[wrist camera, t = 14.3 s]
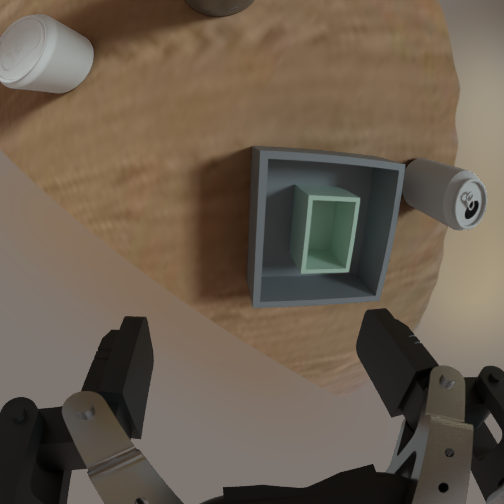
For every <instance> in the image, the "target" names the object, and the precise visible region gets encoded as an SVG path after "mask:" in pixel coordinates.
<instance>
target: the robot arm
mask: <svg viewBox="0 0 504 504" xmlns="http://www.w3.org/2000/svg"><path fill="white" fill-rule="evenodd" d="M185 1H186V2H187V3H188V5H189V6H190V7H191V8H193V9H194V10H196V11H198V12H200V13H202V14H206V15H210V16H227V15H232V14H235V13H238V12H240V11H242V10H244V9H246V8H247V7H248V6H249V5H250V4H252V3H253V1H254V0H185ZM356 350H357V355H358V357H359V359H360V361H361V363H362V364H363V366H364V368H365V370H366V371H367V373H368V375H369V377H370V379H371V380H372V382H373V384H374V386H375V388H376V390H377V391H378V393H379V395H380V397H381V399H382V401H383V402H384V404H385V406H386V408H387V410H388V412H389V414H390V416H391V417H395V416H399V415H402V414H403V415H404V416H405V419H404V421H403V422H402V425H401V429H400V433H399V437H398V440H397V444H396V447H395V451H394V454H393V457H392V460H391V463H390V465H389V467H388V469H387V470H386V472H376V471H375V468H374V465H373V464H371V465H367V466H364V467H360V468H357V469H352V470H348V471H344V472H340V473H338V474H336V475H334V476H331V477H329V478H327V479H325V480H323V481H321V482H318V483H316V484H314V485H311V486H309V487H305V488H293V487H280V486H268V485H255V486H240V487H223V493H224V495H223V496H220V497H215V498H213V499H210V500H207V501H205V502H203V503H200V504H466V498H467V492H468V486H469V478H470V470H471V471H472V473H473V475H474V478H475V479H476V482H477V484H478V486H479V488H480V490H481V492H482V494H483V497H484V499H485V501H486V504H504V372H503V371H502V370H501V369H500V368H498V367H495V366H486V367H484V368H483V369H482V370H481V372H480V374H479V375H478V377H463V376H462V374H461V373H460V372H459V371H457V370H456V369H454V368H452V367H450V366H444V365H441V366H439V365H438V364H437V362H436V361H435V360H434V358H433V357H432V356H431V355H430V353H429V352H428V351H427V350H426V348H425V347H424V346H423V345H422V343H420V341H419V340H418V338H417V337H415V336H414V333H413V332H412V331H411V330H410V329H409V327H408V326H406V325H405V324H403V323H402V322H400V321H399V320H396V319H395V318H394V317H393V316H392V314H391V313H390V312H389V311H388V310H387V309H386V308H382V309H372V310H367V311H366V312H365V314H364V318H363V321H362V325H361V329H360V332H359V336H358V339H357V344H356ZM153 359H154V358H153V348H152V343H151V338H150V332H149V327H148V321H147V318H146V317H132V316H125V317H124V319H123V322H122V324H121V327H120V330H111V331H110V332H109V333H108V334H107V335H106V336H104V337H103V338H102V340H101V343H100V345H99V347H98V351H97V352H96V355H95V357H94V360H93V362H92V364H91V367H90V369H89V372H88V375H87V377H86V380H85V382H84V385H83V387H82V390H81V392H78V393H75V394H73V395H71V396H70V397H69V398H68V399H67V400H66V401H65V402H64V404H63V406H61V407H54V408H44V409H38V408H37V406H36V405H35V403H34V402H33V401H32V400H30V399H28V398H25V397H18V398H14V399H12V400H10V401H8V402H7V403H6V404H5V405H4V406H3V408H2V410H1V412H0V504H67V498H68V491H69V484H70V478H71V471H72V470H77V469H88V472H87V473H88V476H89V478H90V480H91V481H92V484H93V485H94V487H95V489H96V490H97V492H98V494H99V495H100V497H101V499H102V500H103V502H104V504H183V503H182V501H181V500H180V499H179V498H178V497H177V496H176V495H175V493H174V492H173V491H172V490H171V489H170V488H169V486H168V485H167V484H166V483H165V482H164V480H163V479H162V478H161V477H160V476H159V474H158V473H157V472H156V471H155V469H154V468H153V467H152V465H151V464H150V463H149V461H148V460H147V459H146V458H145V456H144V455H143V454H142V452H141V451H140V450H137V449H136V447H135V446H134V445H133V443H132V442H131V438H135V439H141V435H142V428H143V421H144V415H145V409H146V403H147V397H148V392H149V386H150V381H151V375H152V370H153V362H154V360H153ZM490 413H491V414H492V415H493V417H494V418H495V420H496V421H497V423H498V425H499V426H500V428H501V430H502V439H501V441H500V443H499V444H497V442H496V440H495V439H494V437H493V435H492V434H491V432H490V430H489V429H488V427H487V426H486V424H485V422H484V420H485V419H486V418H487V417H488V415H489V414H490Z"/></svg>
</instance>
